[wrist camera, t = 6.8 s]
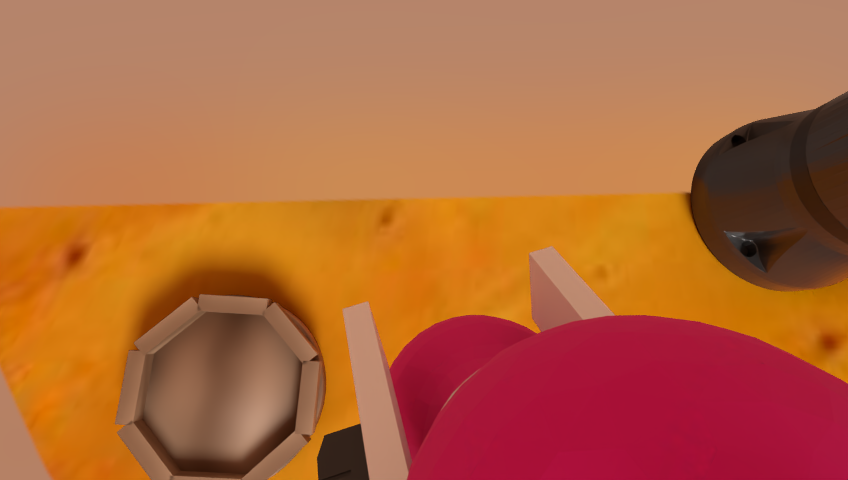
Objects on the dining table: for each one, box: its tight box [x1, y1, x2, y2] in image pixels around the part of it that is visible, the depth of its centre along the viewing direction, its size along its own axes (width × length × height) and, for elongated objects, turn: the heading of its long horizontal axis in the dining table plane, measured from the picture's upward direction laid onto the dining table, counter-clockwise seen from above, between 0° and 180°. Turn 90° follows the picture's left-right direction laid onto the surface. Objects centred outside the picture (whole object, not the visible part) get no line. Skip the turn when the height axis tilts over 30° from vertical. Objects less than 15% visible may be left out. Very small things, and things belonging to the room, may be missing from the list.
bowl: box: [115, 294, 326, 480], centre depth 34 cm, size 14×14×3 cm
